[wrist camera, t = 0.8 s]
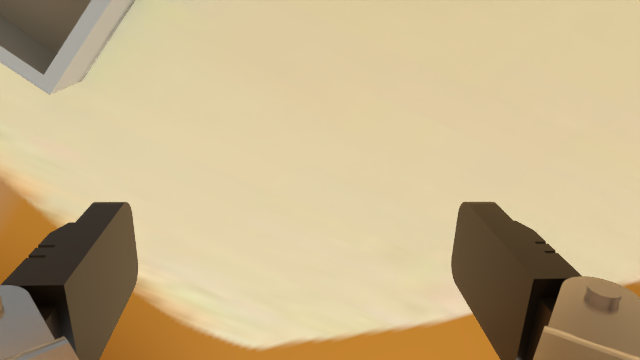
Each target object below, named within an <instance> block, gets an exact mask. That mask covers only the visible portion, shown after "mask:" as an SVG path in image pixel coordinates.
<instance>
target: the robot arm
mask: <svg viewBox="0 0 640 360" xmlns="http://www.w3.org/2000/svg"><path fill="white" fill-rule="evenodd" d="M451 266H452V274H453V279H454V281H455V284H456V285H457V287H458V289H459V290H460V292H461V294H462V295H463V297H464V299H465V301H466V302H467V304H468V306H469V307H470V309H471V311H472V312H473V314H474V316H475V317H476V319H477V321H478V322H479V324H480V326H481V327H482V329H483V331H484V332H485V334H486V336H487V337H488V339H489V341H490V342H491V344H492V346H493V348H494V349H495V351H496V353H497V354H498V356H499V358H500V359H501V360H640V298H639V297H638V296H637V295H636V294H634V293H633V292H632V291H630V290H628V289H627V288H625V287H623V286H621V285H618V284H616V283H613V282H610V281H607V280H604V279H600V278H594V277H586V276H581V275H580V274H579V273H578V272H577V271H576V270H575V269H574V268H573V267H572V266H571V265H570V264H569V263H568V262H567V261H566V260H564V259H563V258H562V257H561V256H560V255H559V254H558V253H555V250H554V249H553V248H552V247H551V246H550V245H549V244H546V241H545V240H543V239H542V238H541V237H540V236H539V235H538V234H537V233H536V232H535V231H534V230H532V229H530V228H528V227H526V226H525V225H523V224H521V223H519V222H517V221H513V220H512V219H511V218H510V217H509V216H508V215H507V214H506V213H505V212H504V211H503V210H502V209H501V208H500V207H499V206H498V205H497V204H496V203H495V202H463V203H462V204H461V206H460V208H459V212H458V218H457V225H456V232H455V239H454V246H453V253H452V262H451ZM137 274H138V259H137V251H136V242H135V234H134V226H133V217H132V211H131V207H130V205H129V203H127V202H94V203H92V204H91V206H90V207H89V208H88V209H87V210H86V211H85V212H84V213H83V215H82V216H81V217H80V218H79V219H78V220H77V221H76V223H68V224H66V225H64V226H62V227H60V228H58V229H57V230H55V231H53V232H51V233H50V234H49V235H48V236H47V237H46V238H45V239H44V240H43V241H42V242H41V243H40V244H39V245H38V248H35V249H34V250H33V252H32V253H31V254H30V255H29V258H26V259H25V260H24V261H23V262H22V263H21V264H20V265H19V266H18V267H17V268H16V269H15V270H14V271H13V273H12V274H11V275H10V276H9V277H8V278H7V279H6V280H5V281H4V282H3V283H2V284H1V285H0V360H99V359H100V357H101V355H102V352H103V351H104V348H105V347H106V344H107V342H108V340H109V338H110V336H111V334H112V332H113V330H114V328H115V326H116V324H117V322H118V320H119V318H120V316H121V314H122V312H123V310H124V308H125V306H126V304H127V302H128V300H129V298H130V296H131V294H132V292H133V290H134V287H135V285H136V281H137Z"/></svg>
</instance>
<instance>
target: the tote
mask: <svg viewBox="0 0 640 360" xmlns="http://www.w3.org/2000/svg"><path fill="white" fill-rule="evenodd" d="M134 1H135V0H0V62H1V63H2V64H4V65H5V66H7V67H8V68H10V69H11V70H13V71H14V72H16V73H17V74H19V75H20V76H22V77H23V78H25V79H26V80H28V81H29V82H31V83H32V84H34V85H35V86H37V87H38V88H40V89H41V90H43V91H45V92H46V93H48V94H49V95H51V94H53V93H55V92H57V91H60V90H62V89H64V88H66V87H69V86H71V85H73V84H75V83H78V82H80V81H82V80H83V78H84V77H85V75H86V74H87V72H88V71H89V69H90V68H91V66H92V65H93V63H94V62H95V60H96V58H97V57H98V55H99V54H100V52H101V51H102V49H103V48H104V46H105V45H106V43H107V42H108V40H109V39H110V37H111V36H112V34H113V33H114V31H115V30H116V28H117V27H118V25H119V24H120V22H121V21H122V19H123V18H124V16H125V15H126V13H127V12H128V10H129V9H130V7H131V6H132V4H133V3H134Z"/></svg>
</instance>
